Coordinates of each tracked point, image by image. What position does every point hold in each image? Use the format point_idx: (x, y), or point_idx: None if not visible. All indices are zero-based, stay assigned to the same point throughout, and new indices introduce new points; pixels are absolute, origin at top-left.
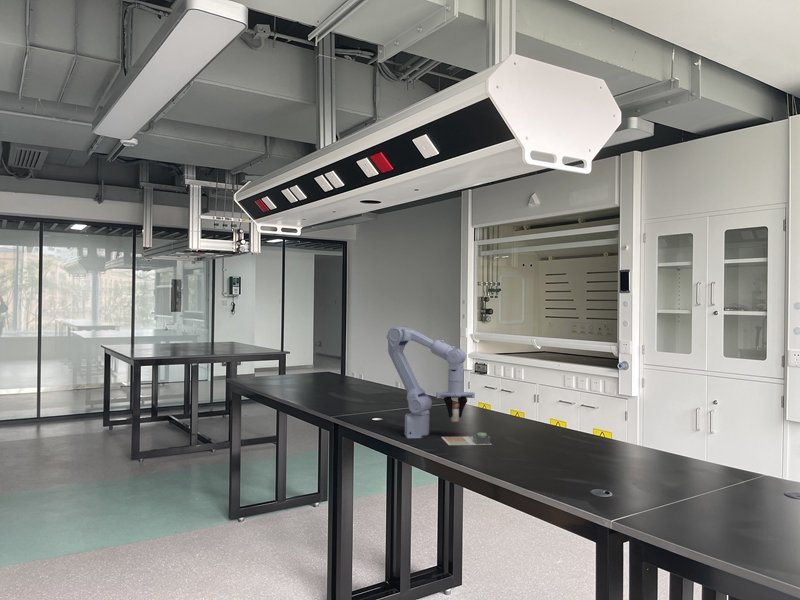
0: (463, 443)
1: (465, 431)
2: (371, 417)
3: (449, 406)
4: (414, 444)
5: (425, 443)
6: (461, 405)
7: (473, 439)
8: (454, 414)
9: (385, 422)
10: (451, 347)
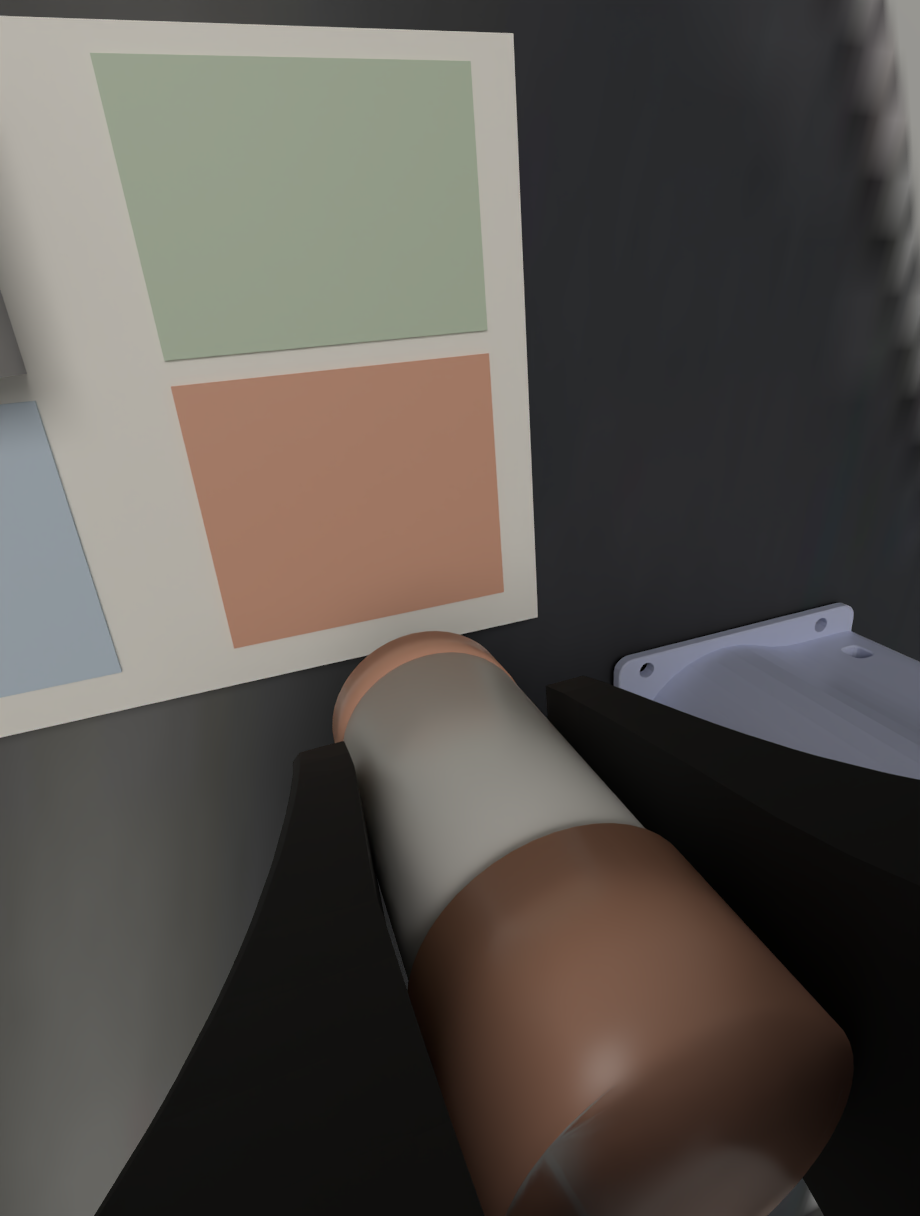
0: (233, 132)
1: (161, 1097)
2: None
3: (879, 788)
4: (848, 340)
5: (726, 402)
6: (380, 1007)
7: (7, 346)
8: (522, 718)
9: None
10: None
